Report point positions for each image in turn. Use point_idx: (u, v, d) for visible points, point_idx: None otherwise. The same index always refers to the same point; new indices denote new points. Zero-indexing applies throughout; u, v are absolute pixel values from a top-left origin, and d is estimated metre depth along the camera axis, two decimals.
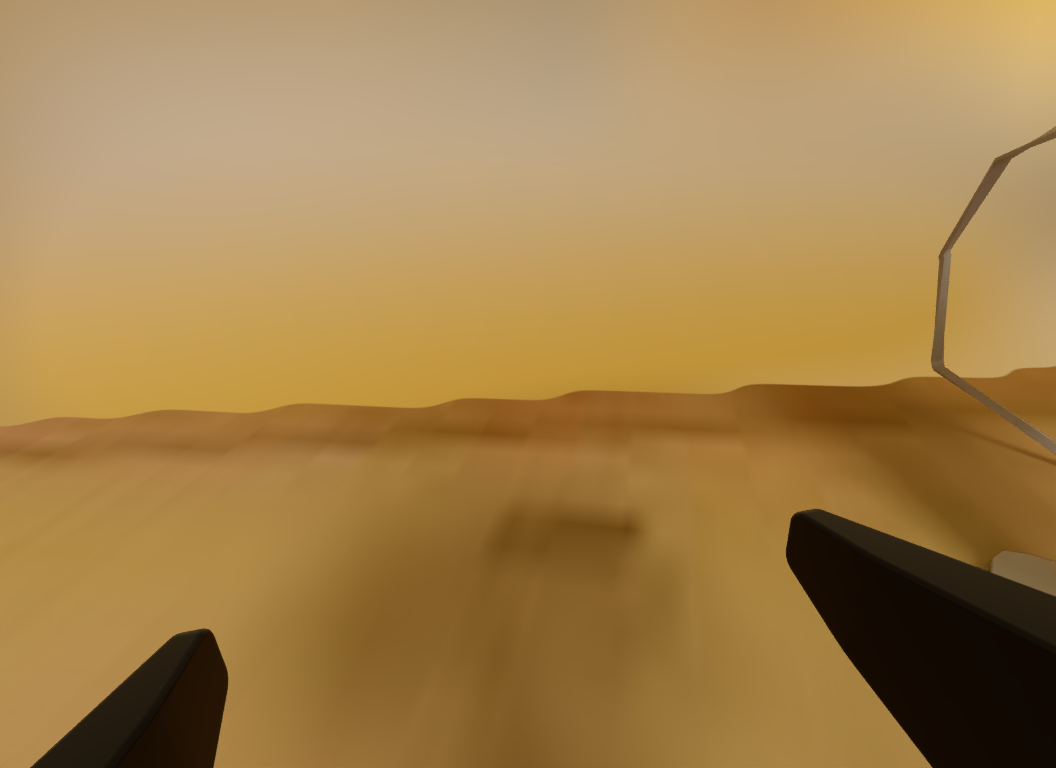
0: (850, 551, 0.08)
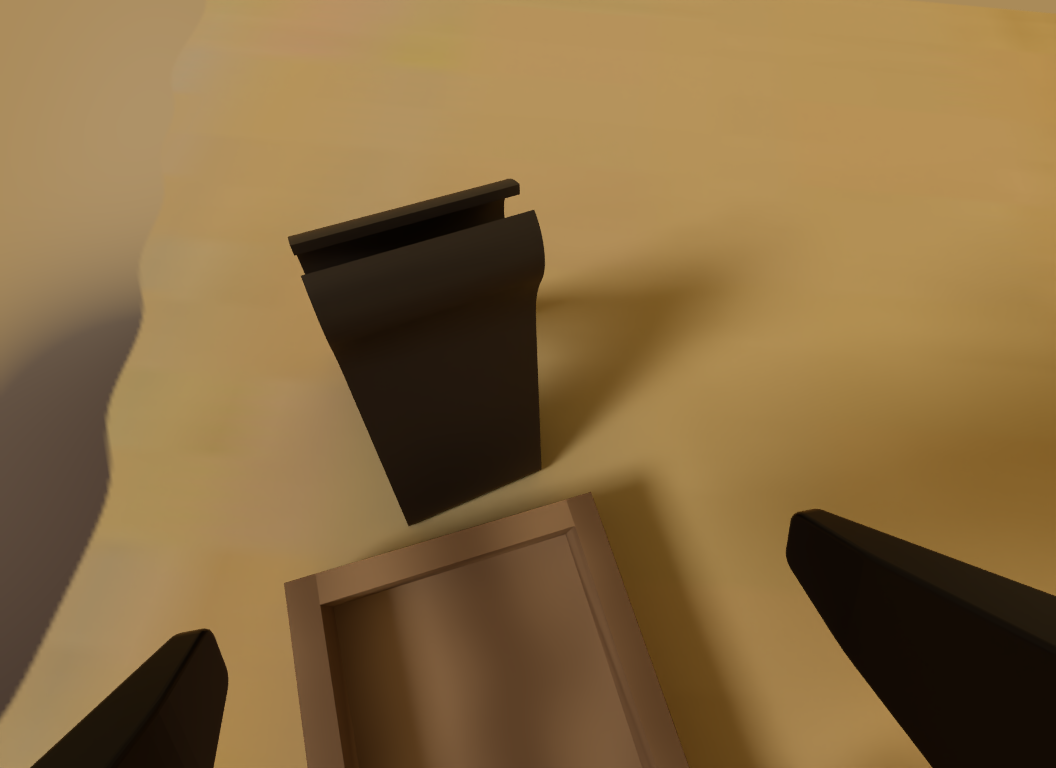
0: (850, 551, 0.08)
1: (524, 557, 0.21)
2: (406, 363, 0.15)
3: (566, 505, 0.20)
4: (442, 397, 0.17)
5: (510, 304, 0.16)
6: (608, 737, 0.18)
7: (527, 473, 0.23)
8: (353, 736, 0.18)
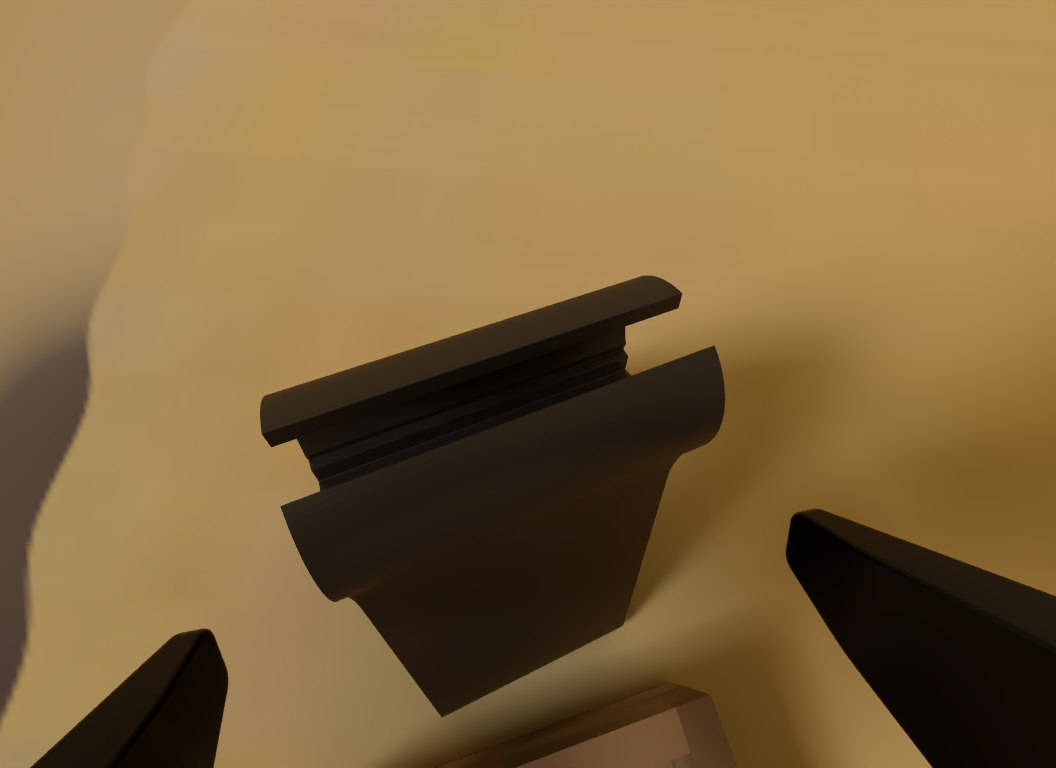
0: (850, 551, 0.08)
1: None
2: (463, 571, 0.09)
3: (676, 717, 0.13)
4: (510, 593, 0.11)
5: (638, 475, 0.09)
6: None
7: (604, 634, 0.16)
8: None
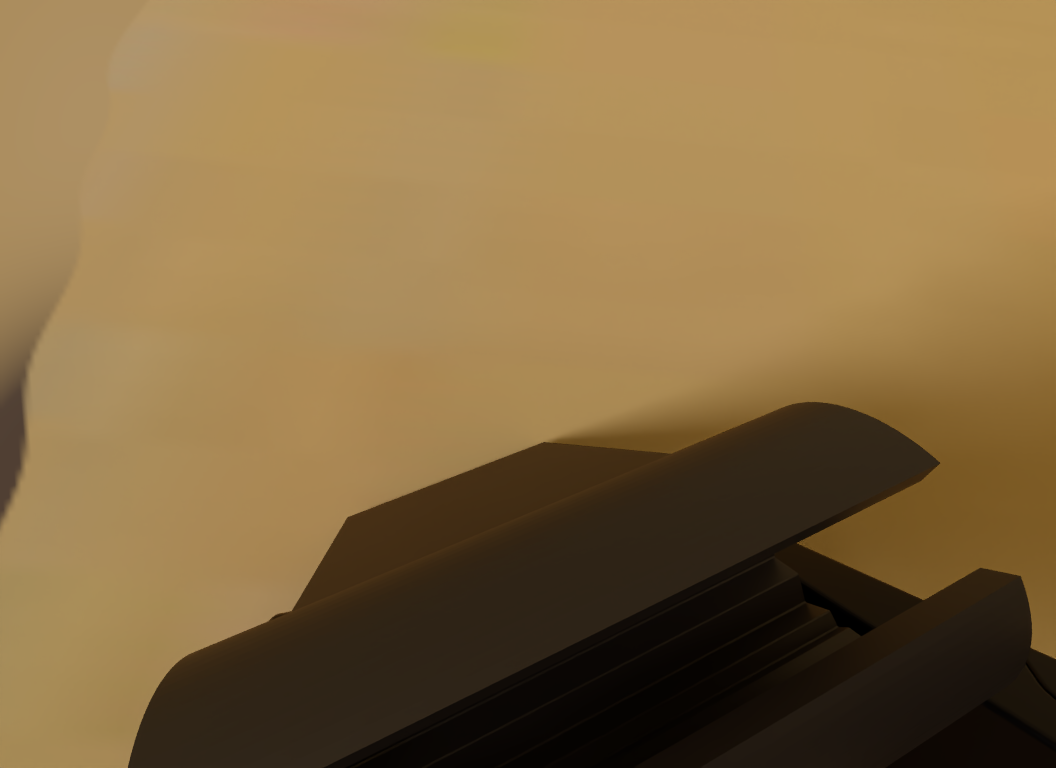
0: None
1: None
2: None
3: None
4: None
5: None
6: None
7: None
8: None
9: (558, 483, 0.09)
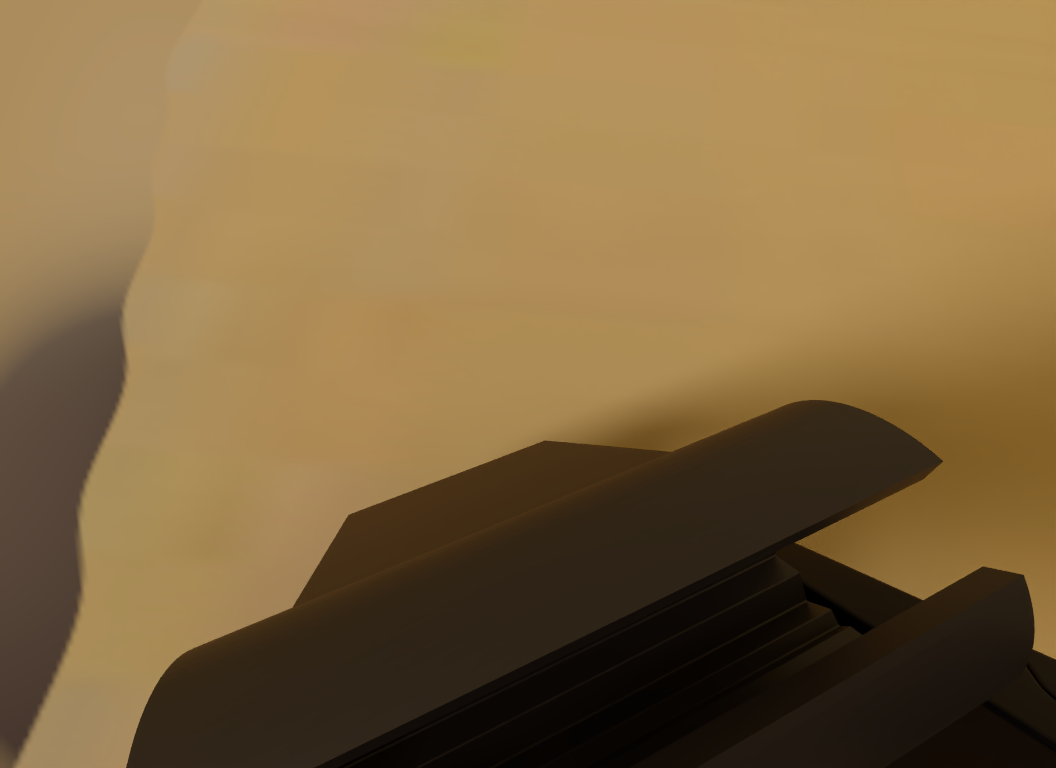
0: None
1: None
2: None
3: None
4: None
5: None
6: None
7: None
8: None
9: (559, 481, 0.09)
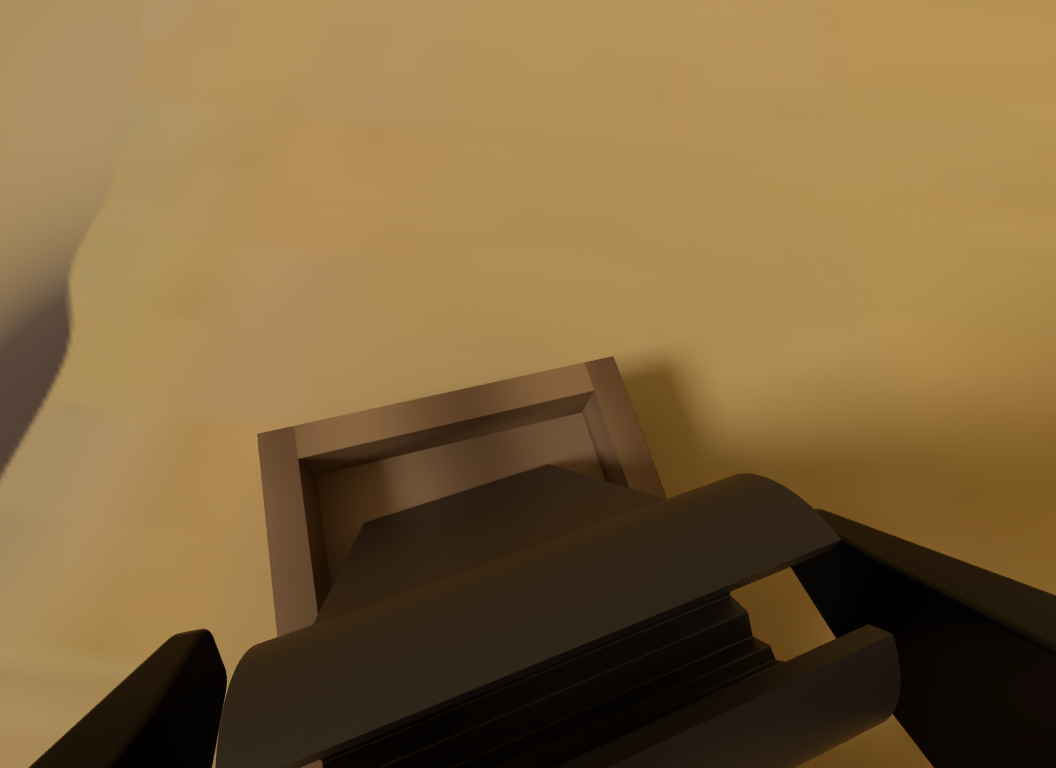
0: (851, 551, 0.08)
1: (535, 434, 0.18)
2: None
3: (585, 369, 0.17)
4: None
5: None
6: None
7: None
8: None
9: (553, 512, 0.11)
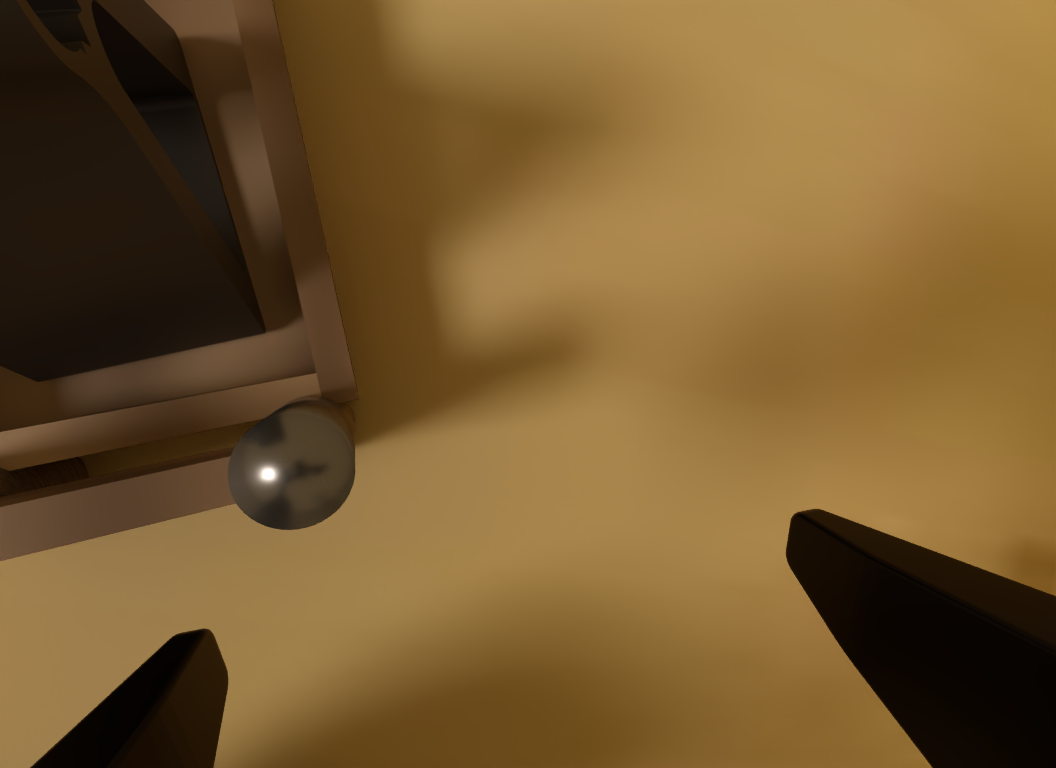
0: (850, 551, 0.08)
1: None
2: None
3: None
4: None
5: (31, 105, 0.07)
6: (257, 218, 0.17)
7: (241, 336, 0.16)
8: None
9: None
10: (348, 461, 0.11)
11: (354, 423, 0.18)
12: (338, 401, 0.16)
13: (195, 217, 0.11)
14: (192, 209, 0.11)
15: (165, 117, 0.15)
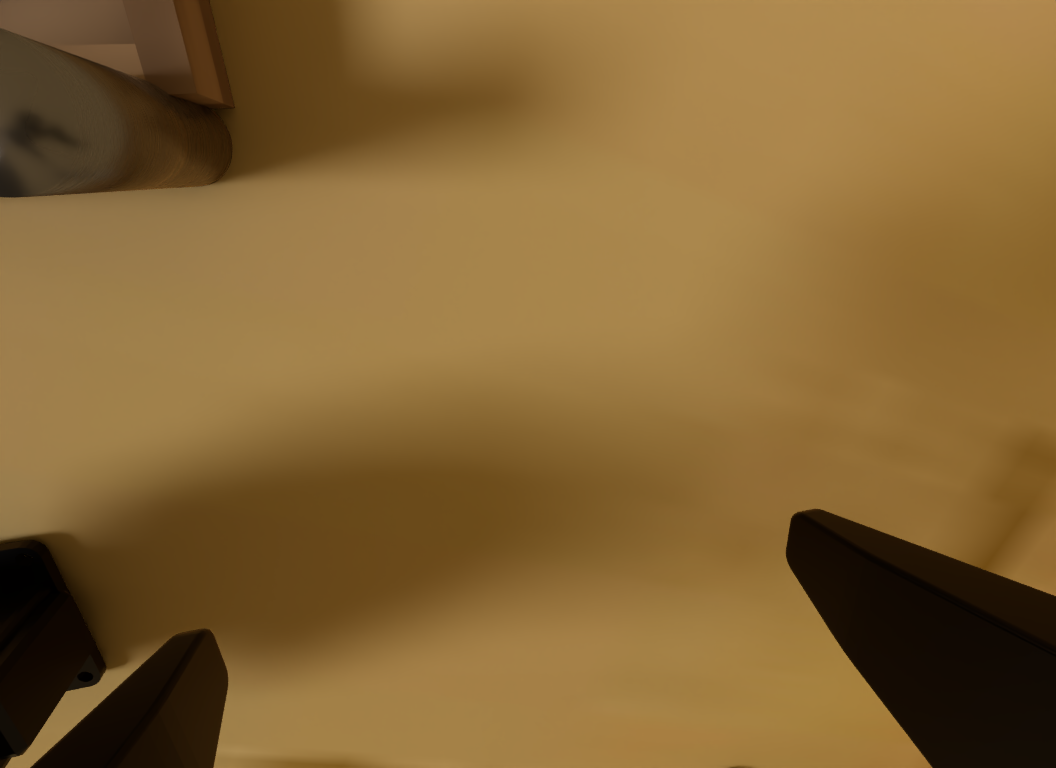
0: (850, 551, 0.08)
1: None
2: None
3: None
4: None
5: None
6: None
7: None
8: None
9: None
10: (66, 112, 0.08)
11: (220, 141, 0.14)
12: (169, 91, 0.12)
13: None
14: None
15: None
